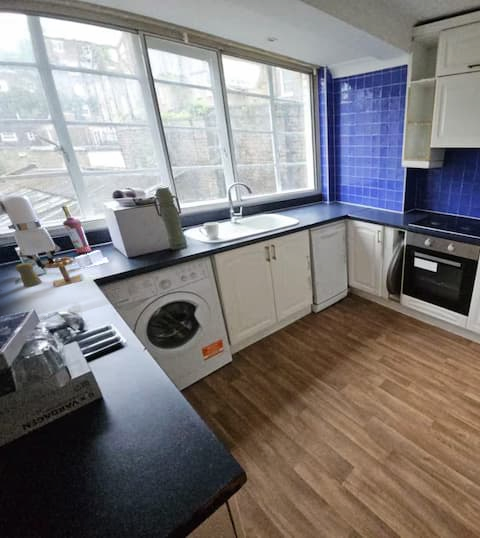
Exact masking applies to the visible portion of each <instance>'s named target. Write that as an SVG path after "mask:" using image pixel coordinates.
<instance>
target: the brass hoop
mask: <svg viewBox="0 0 480 538" xmlns="http://www.w3.org/2000/svg"><path fill="white" fill-rule="evenodd" d="M52 259H53V261H54V263H53V264H49V261H48V260H47V261H44V262H42V264H43V267H44V269H57V268H58V269H59V267H63V266H65V267H66V266H69V265H72V264H73V263H74V262H75V258H73V257H71V256H70V257H69V256H65V257H57V258H52ZM56 260H62V262H59V263H56Z"/></svg>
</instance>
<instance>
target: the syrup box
mask: <svg viewBox="0 0 480 538" xmlns="http://www.w3.org/2000/svg"><path fill="white" fill-rule="evenodd" d="M14 249H15V251H16V253H17V256H19V254H20V249H19V247H18V246H17V247H14ZM36 255H37V257H38V258H39V259H40V257H39V253H37V254H36ZM19 259H20V261H21V263H31V264H32V265H33V270H34V272H35V273H36V274H37V276H38V277H39V276H42V275H46V274H47V271H46V268H43V269H41V267H38V265H37V263H36V261H34V260H32V259H29V258H22V257H19Z"/></svg>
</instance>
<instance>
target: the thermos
mask: <svg viewBox="0 0 480 538" xmlns="http://www.w3.org/2000/svg"><path fill="white" fill-rule="evenodd" d="M155 195H156V197H155V198H154V199H153V201H152V202H153V205H154V208H155V210H156V214H157V216H158V217H160V218H161V220H162V221H163V223H164V227H165V230H166V233H167V240H168V244H169V246H170V249H171V250H172V251H173V250H175V251H177V250H183V249H185V248H187V247H188V244H187V238H186V236H185V234H184V231H183V228H182V224H181V220H180V219H181V218H180V214H182V209H181V206H180V203H179V198H178V197H177V196H176V195H173V193H172V191H171V189H170V188H168V187H158V188H157V189H155ZM174 199H175V200H174ZM175 202H176V203H175ZM157 203H158V204H159V208H158V204H157ZM176 205H177V206H176Z"/></svg>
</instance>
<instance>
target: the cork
mask: <svg viewBox="0 0 480 538" xmlns="http://www.w3.org/2000/svg"><path fill="white" fill-rule="evenodd" d="M14 268H15V270H16V271H17V272H18V273H19V275H20V277H21V278H20V279H21V281H22V284H23V287H24V288H31V287H35V286H39V285H41V284H42V283H43V281H42V279H41V278H40V277H39V275H38V276H37V274H36V273H35V272H34V270H33V265H32V264H31V263H22V262H21V263H18V264H17V265H15V267H14Z"/></svg>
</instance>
